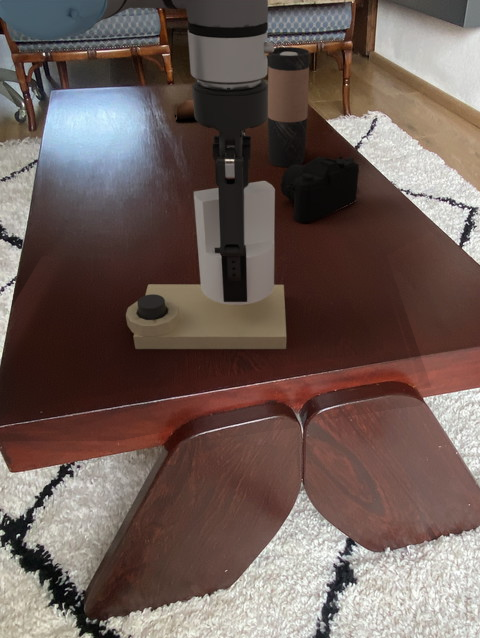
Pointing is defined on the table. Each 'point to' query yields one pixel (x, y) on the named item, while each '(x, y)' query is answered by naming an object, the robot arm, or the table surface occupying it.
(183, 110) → the sunglasses case
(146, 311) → the button
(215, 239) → the base with upright slab
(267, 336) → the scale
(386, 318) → the table surface
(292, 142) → the travel mug
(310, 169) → the film camera
